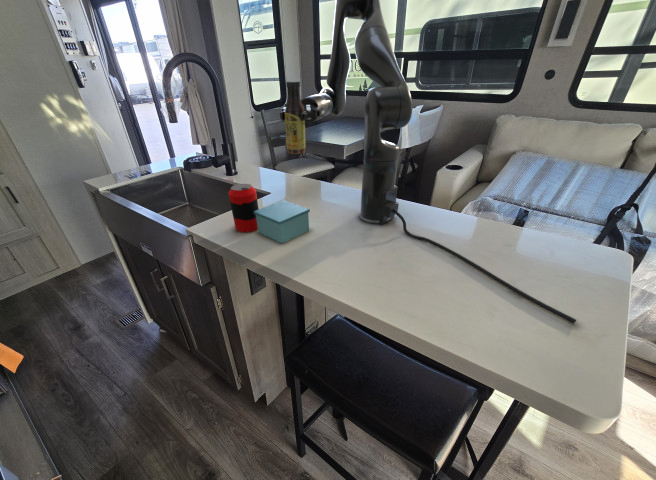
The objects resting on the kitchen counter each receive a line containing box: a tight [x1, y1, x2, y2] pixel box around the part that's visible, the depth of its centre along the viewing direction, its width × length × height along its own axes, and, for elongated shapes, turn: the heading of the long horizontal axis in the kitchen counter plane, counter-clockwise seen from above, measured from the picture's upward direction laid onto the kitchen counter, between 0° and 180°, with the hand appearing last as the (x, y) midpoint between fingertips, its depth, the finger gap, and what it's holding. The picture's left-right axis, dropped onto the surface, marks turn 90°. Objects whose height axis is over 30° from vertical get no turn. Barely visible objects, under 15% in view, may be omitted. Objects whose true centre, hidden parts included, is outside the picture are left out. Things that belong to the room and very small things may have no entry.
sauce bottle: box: [284, 79, 306, 156], centre depth 97 cm, size 6×6×20 cm
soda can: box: [228, 183, 260, 233], centre depth 89 cm, size 8×8×12 cm
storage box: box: [254, 199, 311, 244], centre depth 87 cm, size 11×11×6 cm
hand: (291, 116), depth 95 cm, fingers closed on sauce bottle, 6 cm apart
